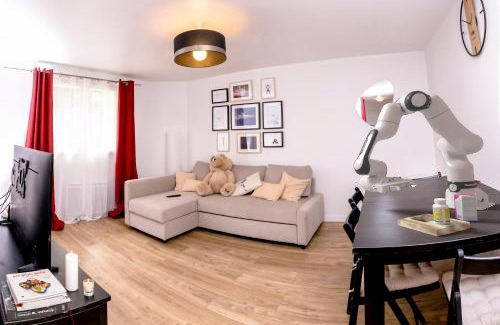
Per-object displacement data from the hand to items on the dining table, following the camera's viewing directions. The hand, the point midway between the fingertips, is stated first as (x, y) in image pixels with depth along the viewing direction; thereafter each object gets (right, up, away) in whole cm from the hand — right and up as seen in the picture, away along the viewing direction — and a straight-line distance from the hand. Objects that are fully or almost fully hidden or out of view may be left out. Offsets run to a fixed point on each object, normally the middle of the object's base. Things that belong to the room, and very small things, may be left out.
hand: (408, 187), depth 119 cm
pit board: (+3, -16, -12) cm, 20 cm away
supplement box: (+21, -14, -7) cm, 27 cm away
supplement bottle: (+4, -13, -16) cm, 21 cm away
